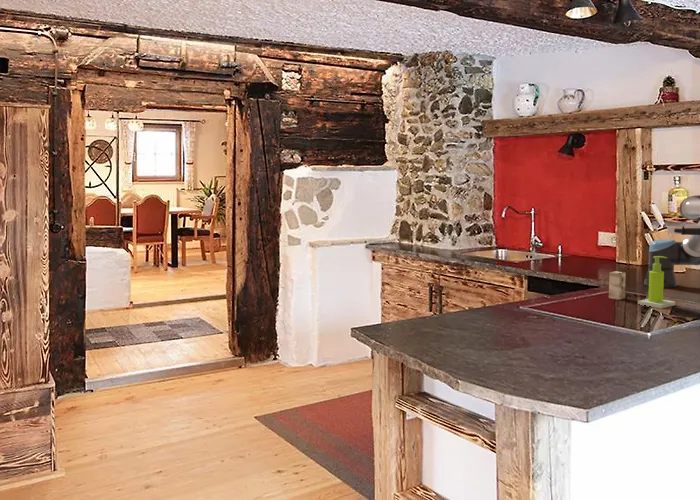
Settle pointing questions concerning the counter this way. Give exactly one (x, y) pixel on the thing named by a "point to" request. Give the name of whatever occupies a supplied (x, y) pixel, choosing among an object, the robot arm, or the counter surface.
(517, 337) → the counter surface
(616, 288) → the birch post
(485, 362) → the counter surface
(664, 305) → the sage pad
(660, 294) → the soap dispenser
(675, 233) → the robot arm
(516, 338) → the counter surface
